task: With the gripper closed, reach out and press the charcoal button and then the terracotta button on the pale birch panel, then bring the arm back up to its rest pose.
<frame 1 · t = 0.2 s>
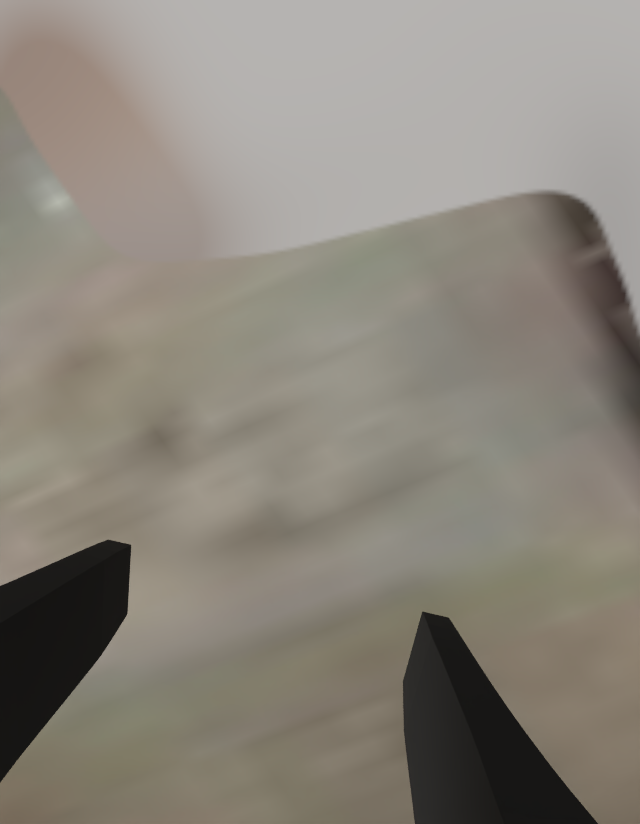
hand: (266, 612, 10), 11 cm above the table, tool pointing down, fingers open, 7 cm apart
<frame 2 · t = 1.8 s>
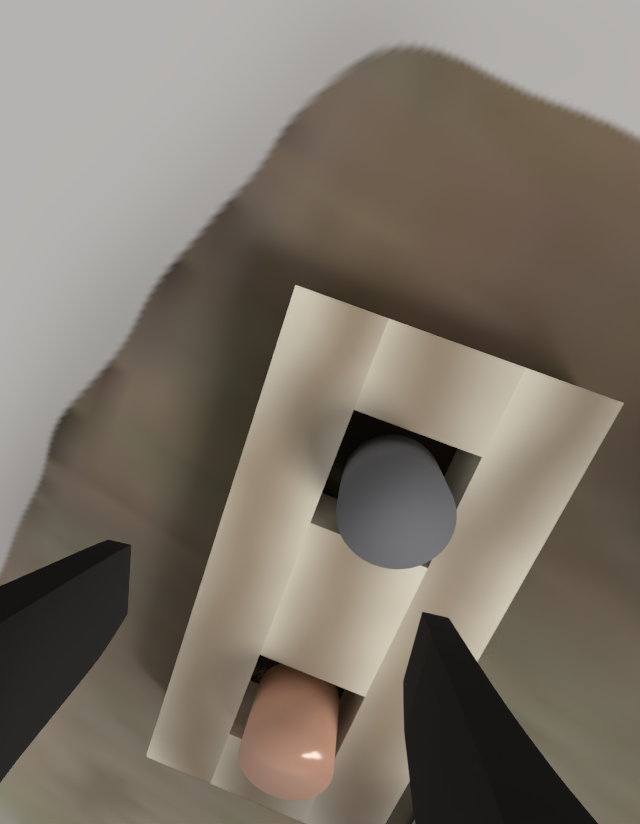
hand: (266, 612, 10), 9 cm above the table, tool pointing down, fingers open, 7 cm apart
button panel: (343, 570, 20), on the table
terracotta button: (292, 726, 18), point 3 cm above the table, slide at 0.0 cm
charcoal button: (392, 497, 15), point 4 cm above the table, slide at 0.0 cm
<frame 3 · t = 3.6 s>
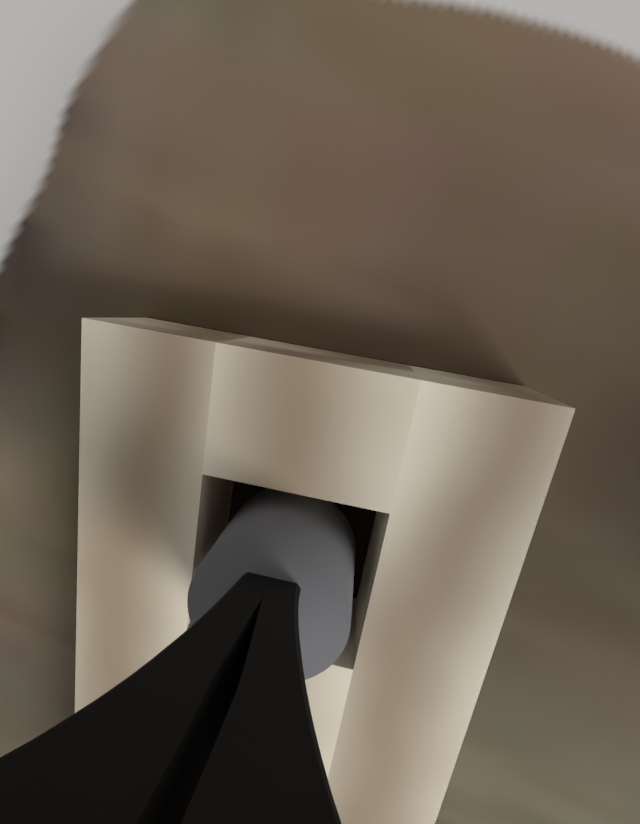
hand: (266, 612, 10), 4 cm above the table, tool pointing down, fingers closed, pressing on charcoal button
button panel: (275, 659, 15), on the table
charcoal button: (280, 575, 11), point 3 cm above the table, slide at 0.5 cm, touching gripper
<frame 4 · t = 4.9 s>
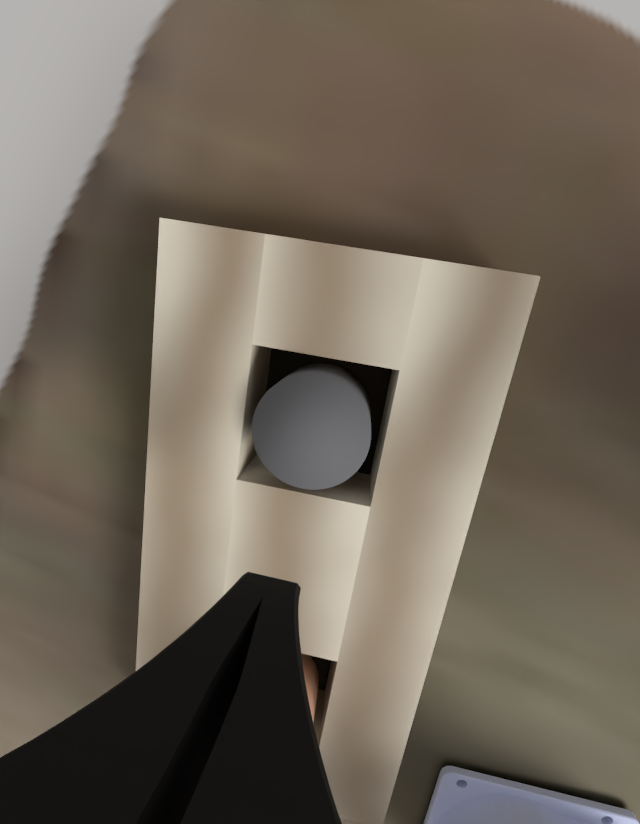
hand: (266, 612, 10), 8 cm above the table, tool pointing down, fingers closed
button panel: (301, 533, 18), on the table
terracotta button: (266, 706, 16), point 3 cm above the table, slide at 0.0 cm
charcoal button: (316, 422, 15), point 2 cm above the table, slide at 1.3 cm
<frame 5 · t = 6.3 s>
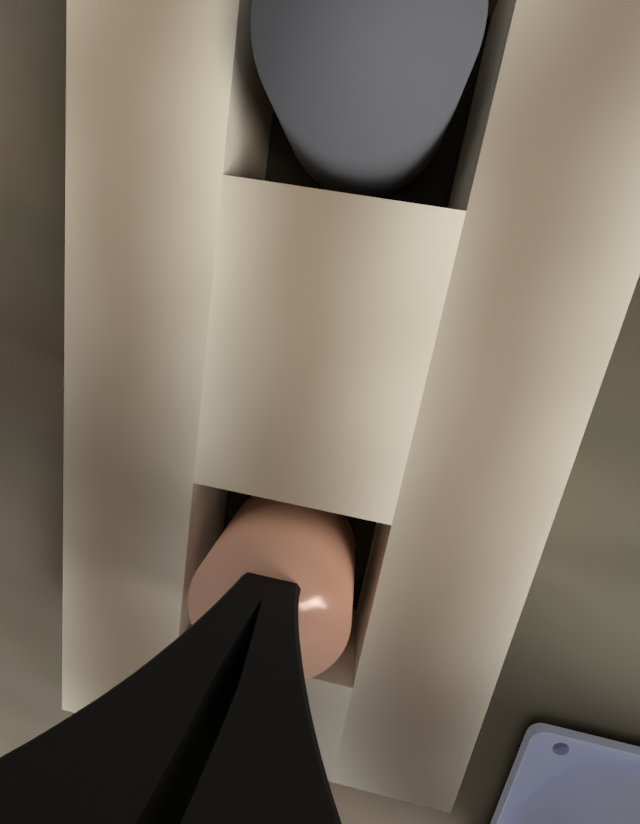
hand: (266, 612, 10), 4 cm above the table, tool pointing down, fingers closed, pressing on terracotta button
button panel: (327, 351, 12), on the table
terracotta button: (281, 575, 11), point 2 cm above the table, slide at 1.1 cm, touching gripper
charcoal button: (366, 71, 8), point 2 cm above the table, slide at 1.3 cm
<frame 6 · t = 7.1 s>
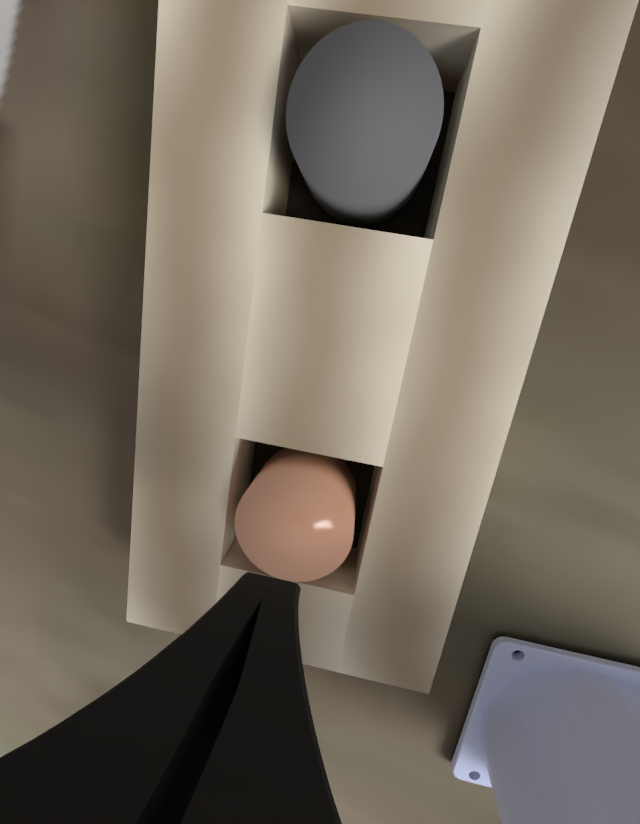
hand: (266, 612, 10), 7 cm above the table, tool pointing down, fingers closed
button panel: (334, 341, 15), on the table
terracotta button: (300, 507, 15), point 2 cm above the table, slide at 1.3 cm
charcoal button: (363, 139, 12), point 2 cm above the table, slide at 1.3 cm
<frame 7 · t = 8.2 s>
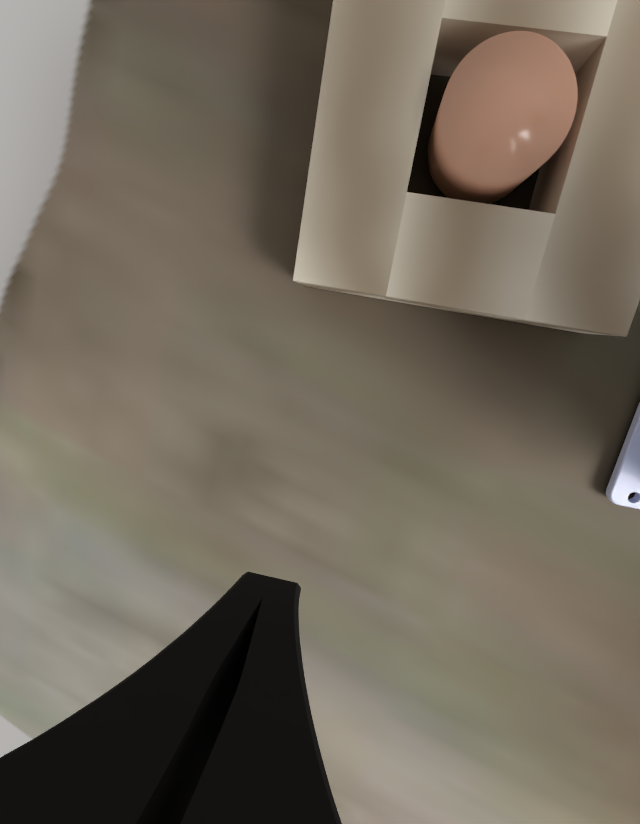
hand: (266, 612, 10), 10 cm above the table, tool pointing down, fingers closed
terracotta button: (493, 130, 14), point 2 cm above the table, slide at 1.3 cm
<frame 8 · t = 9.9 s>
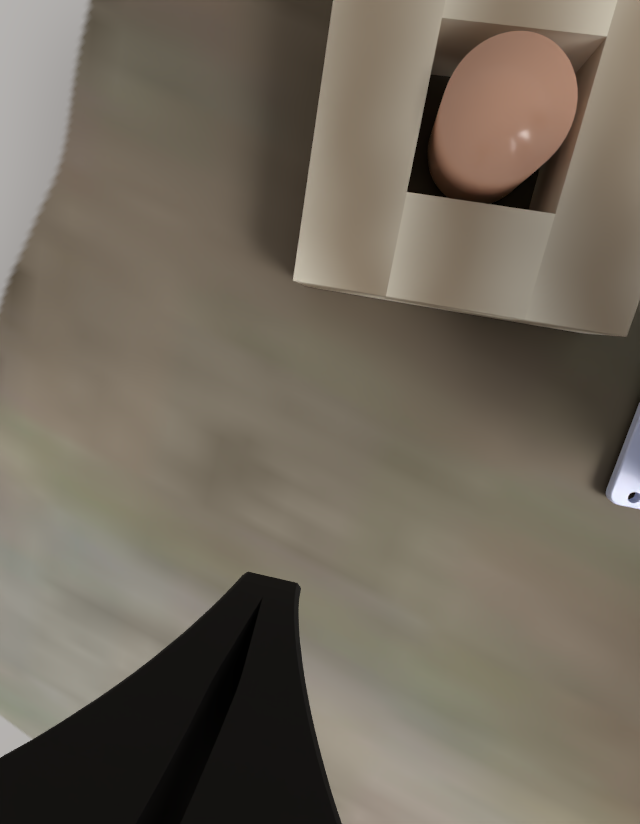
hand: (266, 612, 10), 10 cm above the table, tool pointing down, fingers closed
terracotta button: (493, 130, 14), point 2 cm above the table, slide at 1.3 cm
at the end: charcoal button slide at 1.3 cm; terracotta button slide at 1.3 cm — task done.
